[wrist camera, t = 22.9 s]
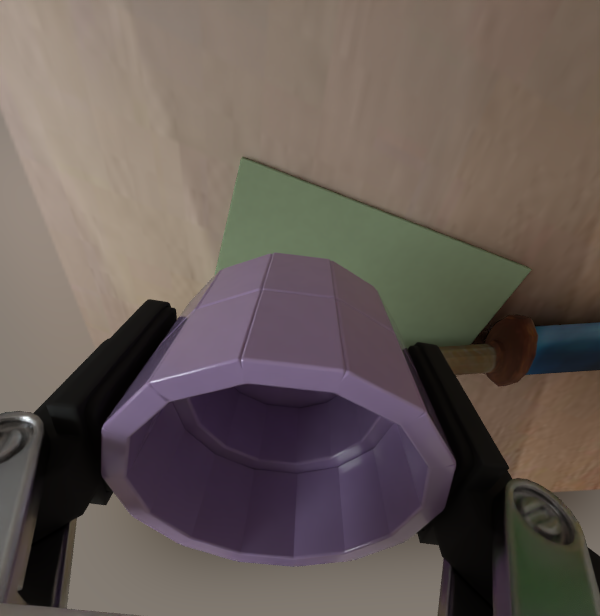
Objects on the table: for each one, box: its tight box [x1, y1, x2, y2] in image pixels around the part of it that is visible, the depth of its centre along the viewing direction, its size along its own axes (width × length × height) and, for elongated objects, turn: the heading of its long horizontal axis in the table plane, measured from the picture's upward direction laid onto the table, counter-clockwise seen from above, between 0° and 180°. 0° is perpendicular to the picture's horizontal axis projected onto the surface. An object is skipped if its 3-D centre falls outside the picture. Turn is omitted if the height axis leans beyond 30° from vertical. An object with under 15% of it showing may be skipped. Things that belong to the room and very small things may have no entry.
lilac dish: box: [101, 252, 456, 566], centre depth 8 cm, size 7×7×5 cm
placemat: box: [215, 157, 531, 349], centre depth 20 cm, size 16×20×1 cm
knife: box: [407, 315, 600, 386], centre depth 17 cm, size 24×3×5 cm
